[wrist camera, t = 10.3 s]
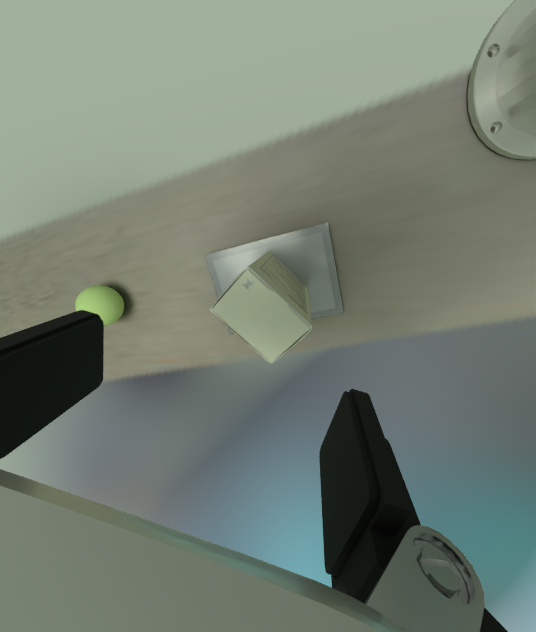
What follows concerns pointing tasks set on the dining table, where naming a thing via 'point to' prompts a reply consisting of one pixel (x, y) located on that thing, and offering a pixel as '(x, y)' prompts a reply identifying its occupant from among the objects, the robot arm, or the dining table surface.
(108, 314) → the lime
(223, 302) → the skincare box
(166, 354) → the dining table surface
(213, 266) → the metal tray
